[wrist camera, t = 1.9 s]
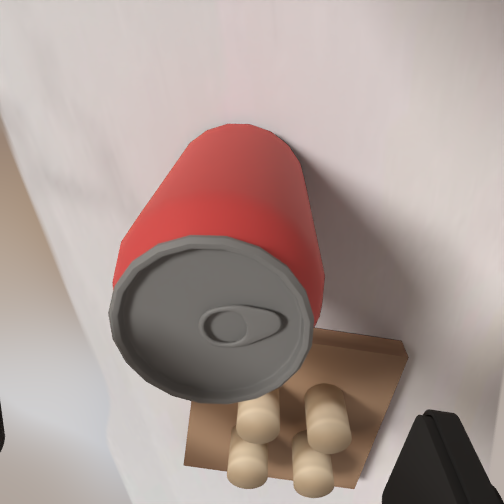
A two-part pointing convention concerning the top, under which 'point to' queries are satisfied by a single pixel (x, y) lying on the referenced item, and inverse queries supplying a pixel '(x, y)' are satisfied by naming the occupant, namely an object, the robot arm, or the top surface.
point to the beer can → (221, 272)
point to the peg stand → (304, 418)
